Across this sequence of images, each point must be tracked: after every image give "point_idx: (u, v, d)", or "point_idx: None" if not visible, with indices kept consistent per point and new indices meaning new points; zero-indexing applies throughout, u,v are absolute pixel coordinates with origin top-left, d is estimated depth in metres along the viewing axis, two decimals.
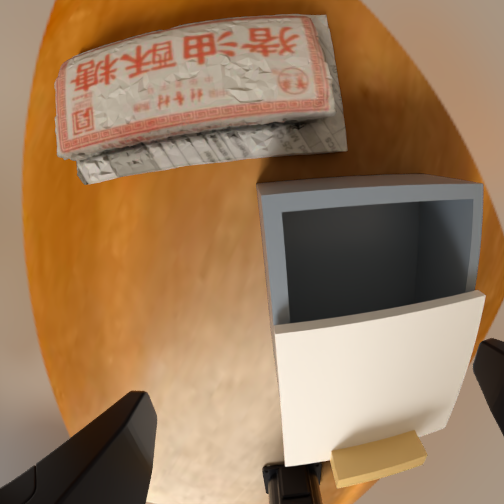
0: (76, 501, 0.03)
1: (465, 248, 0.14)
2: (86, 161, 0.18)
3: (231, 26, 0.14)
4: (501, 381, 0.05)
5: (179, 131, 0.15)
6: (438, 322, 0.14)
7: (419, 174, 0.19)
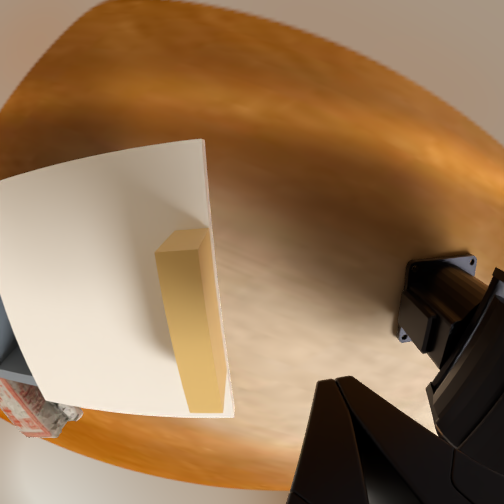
0: None
1: None
2: (66, 415, 0.23)
3: None
4: None
5: None
6: (1, 256, 0.11)
7: None
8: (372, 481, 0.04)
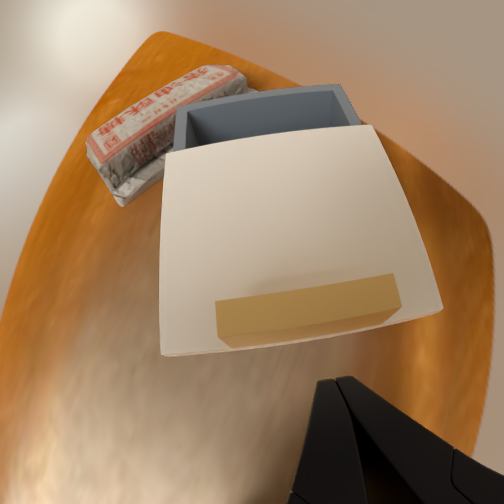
0: None
1: (344, 120, 0.19)
2: (119, 186, 0.26)
3: (174, 81, 0.28)
4: None
5: (173, 121, 0.25)
6: (321, 140, 0.16)
7: None
8: (372, 481, 0.04)
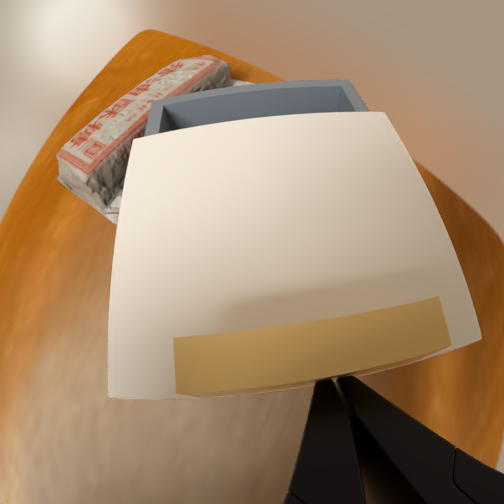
0: None
1: None
2: (111, 202, 0.21)
3: (147, 80, 0.24)
4: None
5: None
6: (324, 125, 0.13)
7: None
8: (374, 481, 0.04)
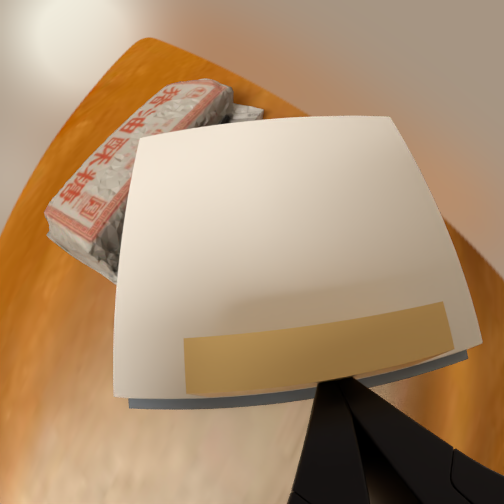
0: None
1: None
2: None
3: (138, 111, 0.21)
4: None
5: None
6: (331, 129, 0.13)
7: None
8: (371, 481, 0.04)
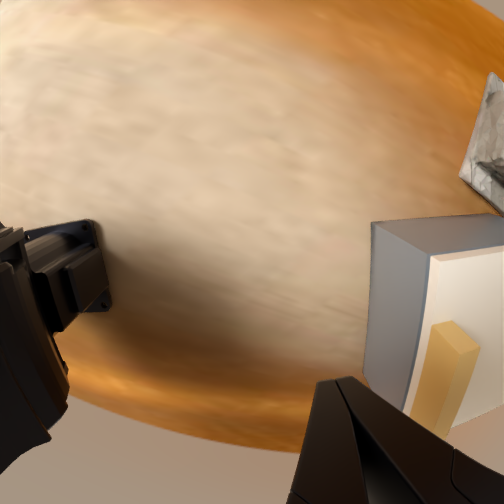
0: None
1: None
2: (480, 167, 0.17)
3: None
4: None
5: None
6: None
7: None
8: (372, 481, 0.04)
